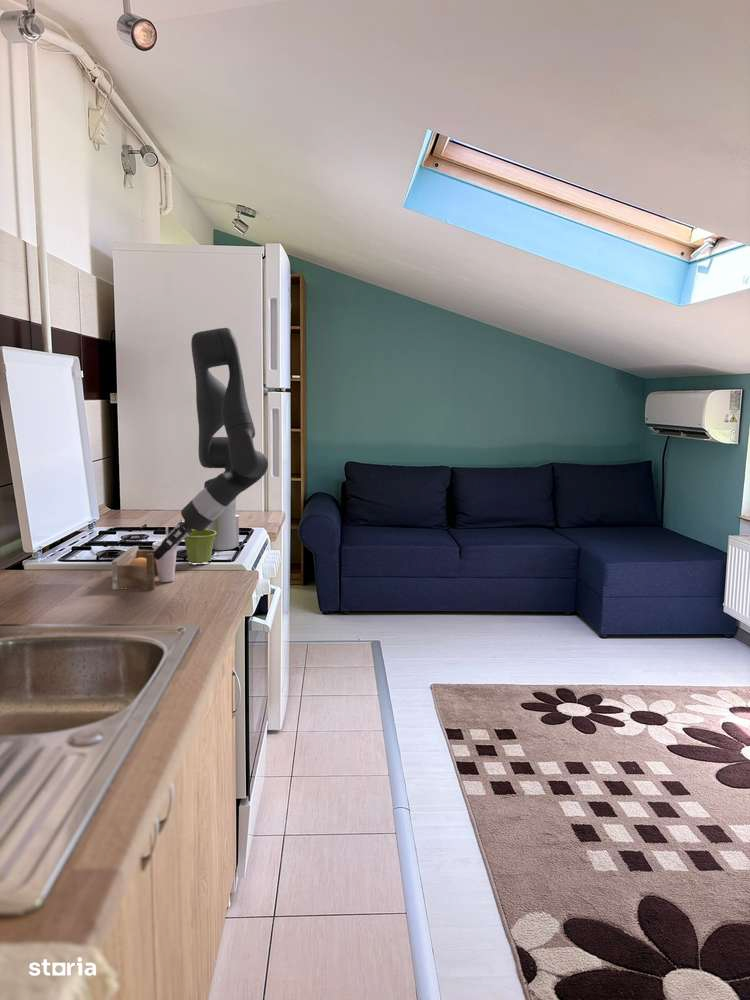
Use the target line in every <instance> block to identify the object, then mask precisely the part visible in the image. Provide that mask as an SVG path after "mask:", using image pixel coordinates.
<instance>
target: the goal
mask: <svg viewBox="0 0 750 1000" xmlns="http://www.w3.org/2000/svg"><path fill="white" fill-rule="evenodd" d="M153 552H154V549H139V545H133V546H132V547H130V548H129V549H127V550H126V551H125V552H123V553H122V554H120V555H118V556H117V557H116V558H115V559H113V560H111V574H112V575H111V576H112V578H111V579H112V590H117V589H118V588H119V589H118V590H122V589H121V588H123V589H125V588H126V589H139V590H138V591H154V590H155V584H156V583H155V574H158V571H157V565H156V559H155V557H154V553H153ZM136 558H146V562H147V565H129V564H130V563H131V562H132V561H133V560H134V559H136Z"/></svg>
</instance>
